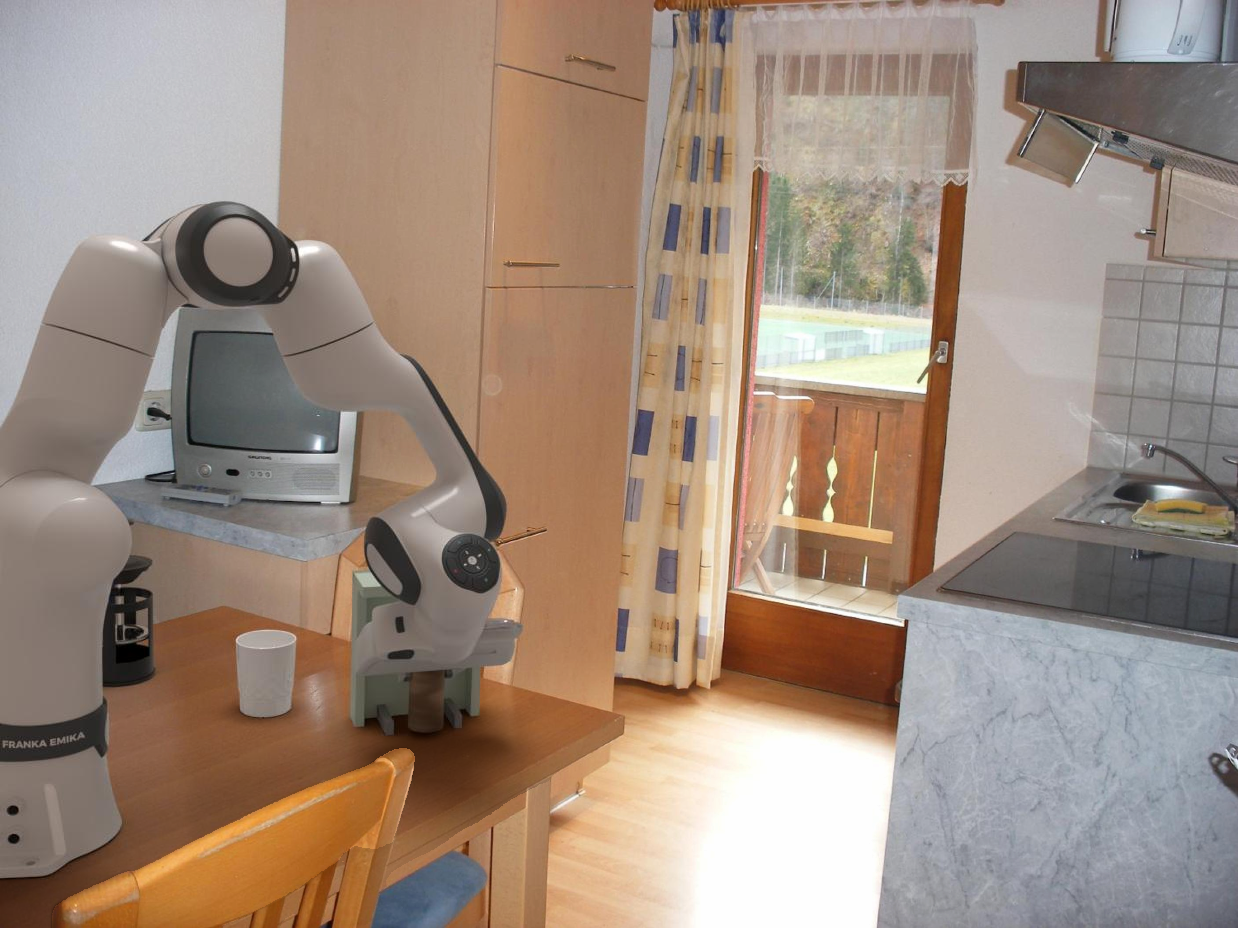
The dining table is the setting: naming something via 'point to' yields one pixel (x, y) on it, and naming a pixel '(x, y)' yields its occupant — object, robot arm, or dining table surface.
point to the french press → (128, 630)
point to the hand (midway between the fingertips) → (425, 674)
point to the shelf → (385, 691)
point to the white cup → (265, 672)
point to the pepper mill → (426, 701)
